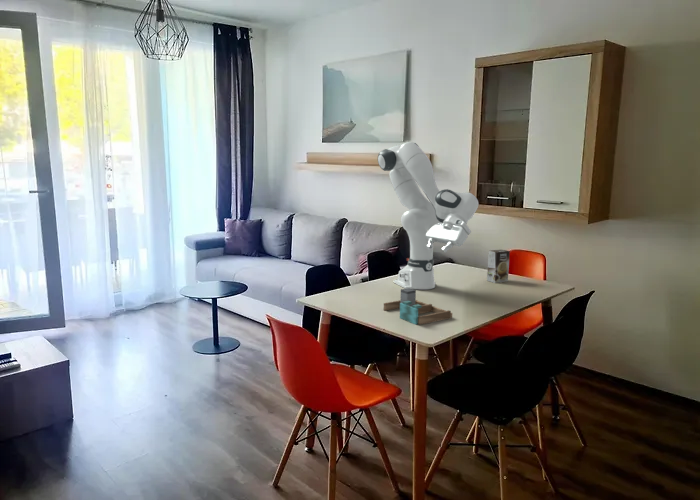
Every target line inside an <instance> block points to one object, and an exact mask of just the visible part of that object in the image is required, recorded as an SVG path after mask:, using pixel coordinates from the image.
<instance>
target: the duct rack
mask: <svg viewBox="0 0 700 500" xmlns="http://www.w3.org/2000/svg"><path fill="white" fill-rule="evenodd" d="M400 301H401V299H400V300H394V301H389V302H388V301H387V302H383V311H384V312H385V311H391V310H395V309H397V310H398V309H399V319H402V320H404V321H405V322H409V323H411V324H413V325H419V326H421V325H427V324H430V323H434V322H439V321H443V320H449V319H452V318H453V312H451V310H445V309H442V308H440V307H437V306H433V304H432V303H429V304H428V303H425V302H423V301H419V300H417V299H416V301H415V305H412V307H411V306H409V305H408V304H412V302H411V301H404V302H403V303H400ZM430 312H432V313H430ZM425 313H426V314H425ZM427 313H429V314H427ZM420 314H424V315H420Z"/></svg>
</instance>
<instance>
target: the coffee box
mask: <svg viewBox="0 0 700 500" xmlns="http://www.w3.org/2000/svg"><path fill="white" fill-rule="evenodd" d="M510 253H511V252H510V250H507V249H492V250H491V249H490V250H488V257H487V258H488V259H487V273H486V274H487V275H486V281H487V282H490V283H493V284H497V283H505V282H508V281H509V271H510V269H509V268H510Z"/></svg>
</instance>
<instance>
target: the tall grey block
mask: <svg viewBox="0 0 700 500" xmlns="http://www.w3.org/2000/svg"><path fill="white" fill-rule="evenodd" d="M416 290H417V289H410V288H407V289H406V288H402V289H400V300H401V301H400V303H403V302H404V301H411V302H412V304H408V305H409V306H411V307H412V305H415V301H416V300H417V299H416V297H417V295H416V294H417V291H416Z"/></svg>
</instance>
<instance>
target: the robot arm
mask: <svg viewBox="0 0 700 500" xmlns="http://www.w3.org/2000/svg"><path fill="white" fill-rule="evenodd" d="M377 163H378V167H379V168H380V169H381V170H382V171H384V172H389V175H388V177H389V180H390V182H391V184H392V185H391V186H392V188H393V190H394V191H395V194H396V196H397V198H398V199H399V202H400V203H401V204H402V206H404V207H405V208H407V209H408V210H407V211H405V212H403V213H402V215H401V217H400V225H401V226H402V228H403V229H404V230H405V231H406V234H407V236H408V239H409V257H407V259H406V262H407V265H405V266H404V267H403V268H402V269H400V270H399V271H398V274H397V276H398V277H397V279H393V280H392V281H393V283H394V284H396V285H398V286H400V287H402V288H403V289H407V288H410V289H413V290H431V289H432V290H433V289H434V288H435V287H436V281H435V270H434V268H433V267H434V262H435V260H434V256H433V255H434V243H440V244H445V246H443V247H441V251H442V252H443V253H447V251H448V250H450V249H451V248H453V247H454V246H456V247H461V246H462V245H463V244H464V243H465V242H466V240H467V239H468V236H469V235H471V233H472V231H471V228H470V227H469V226H468V225H467V224H468V222H469V221H470V220H471V219H472V218H473V216H474V214H475V213H476V211H477V210H478V207H479V200H478V198H477V197H476V196H475V195H474V194H473V193H471V192H469V191H468V192H467V191H466V192H456V191H453V190H451V189H449V188H447V189H441V190H440V189H439V188H438V186H437V184H436V179H435V175H434V174H435V173H434V167H433V164H432V162H431V160H430V158H429V157H428V156H427V154H426V153H425V151H423V150H422V148H421V147H420V146H419V145H418V144H417V143H416V142H413V141H407V142H404V143H401V144H396V145H394V146H391V147H389V148H384V149H382V150H381V151H380V152H379V153H378V155H377ZM421 190H422V191H423V193H424V194H423V193H422V191H421ZM424 195H425V196H426V197H425V196H424Z"/></svg>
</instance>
